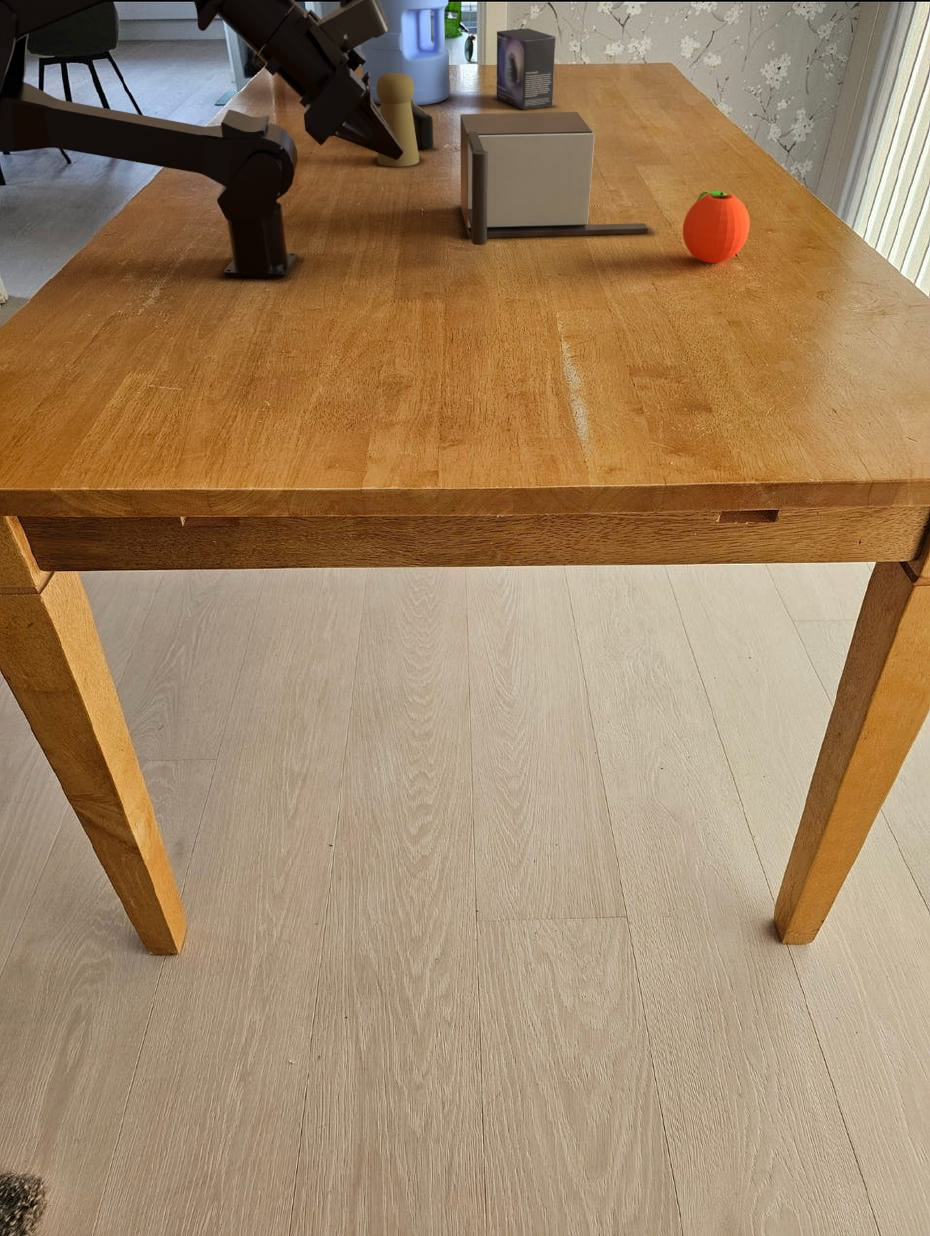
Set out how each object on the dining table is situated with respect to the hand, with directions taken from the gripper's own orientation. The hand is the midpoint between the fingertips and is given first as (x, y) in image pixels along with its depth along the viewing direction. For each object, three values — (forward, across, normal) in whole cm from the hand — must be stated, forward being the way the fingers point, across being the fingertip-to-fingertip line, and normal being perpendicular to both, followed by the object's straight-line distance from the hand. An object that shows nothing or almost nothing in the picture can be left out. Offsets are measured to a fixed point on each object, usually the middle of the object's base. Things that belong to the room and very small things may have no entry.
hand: (400, 155), depth 95 cm
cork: (+8, +43, +8) cm, 44 cm away
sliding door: (+17, +4, -3) cm, 18 cm away
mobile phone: (+10, +56, +6) cm, 57 cm away
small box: (+24, +81, -9) cm, 85 cm away
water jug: (+10, +86, +6) cm, 87 cm away
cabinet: (+20, +14, -5) cm, 25 cm away
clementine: (+31, -1, -16) cm, 35 cm away
